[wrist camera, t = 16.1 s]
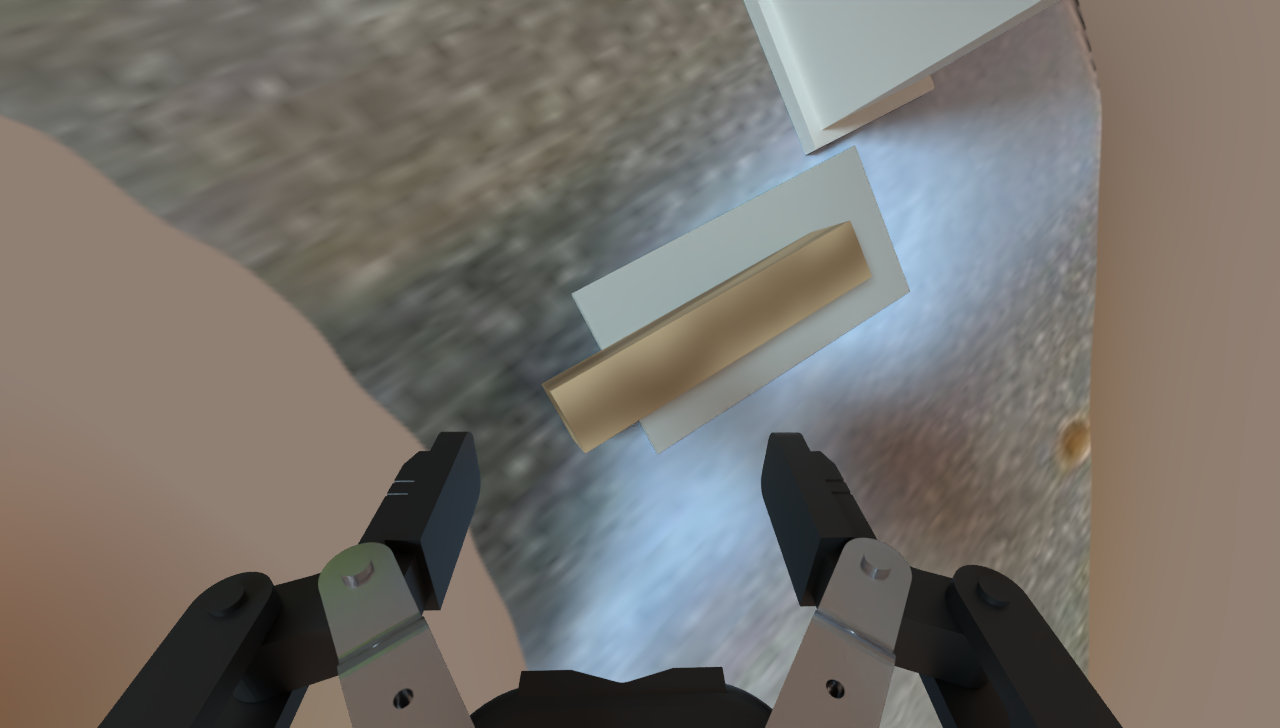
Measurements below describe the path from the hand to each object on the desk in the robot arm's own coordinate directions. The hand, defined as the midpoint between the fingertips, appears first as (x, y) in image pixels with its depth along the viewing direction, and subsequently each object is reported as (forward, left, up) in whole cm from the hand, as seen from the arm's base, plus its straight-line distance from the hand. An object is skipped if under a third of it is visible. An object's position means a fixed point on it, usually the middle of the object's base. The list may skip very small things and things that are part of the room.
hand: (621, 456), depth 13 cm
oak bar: (+2, +11, -18) cm, 21 cm away
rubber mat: (+2, +16, -18) cm, 25 cm away
